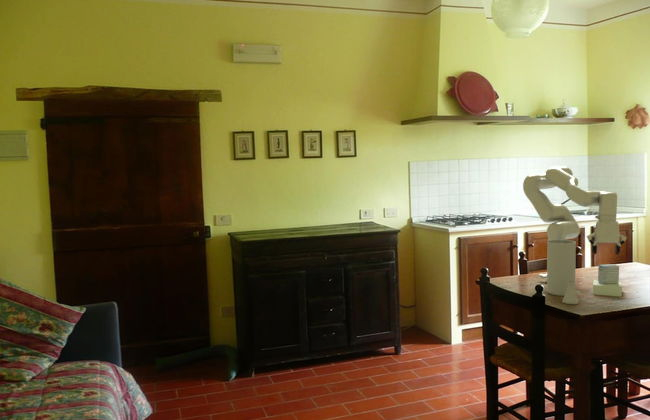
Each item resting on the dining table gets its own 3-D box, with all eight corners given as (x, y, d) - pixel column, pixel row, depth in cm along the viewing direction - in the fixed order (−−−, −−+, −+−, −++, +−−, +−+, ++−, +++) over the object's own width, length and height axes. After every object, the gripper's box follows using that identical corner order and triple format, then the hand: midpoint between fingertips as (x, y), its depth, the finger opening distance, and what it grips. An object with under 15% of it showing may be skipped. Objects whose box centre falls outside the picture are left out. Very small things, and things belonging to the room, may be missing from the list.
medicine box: (614, 281, 272) (614, 263, 271) (618, 283, 268) (619, 265, 267) (597, 282, 272) (598, 264, 271) (602, 284, 268) (602, 266, 267)
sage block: (593, 295, 268) (593, 284, 267) (593, 289, 279) (593, 279, 278) (621, 297, 263) (621, 286, 262) (621, 291, 273) (621, 281, 273)
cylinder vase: (550, 296, 266) (551, 243, 264) (544, 290, 279) (544, 239, 276) (578, 296, 265) (579, 243, 262) (570, 290, 277) (571, 239, 275)
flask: (564, 300, 259) (564, 278, 258) (581, 302, 254) (581, 280, 254) (559, 303, 253) (559, 281, 252) (576, 305, 249) (576, 283, 248)
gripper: (589, 219, 266) (588, 254, 268) (629, 219, 262) (628, 255, 264) (585, 217, 273) (584, 251, 275) (625, 217, 269) (623, 252, 271)
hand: (605, 253), depth 270 cm, fingers open, 9 cm apart
